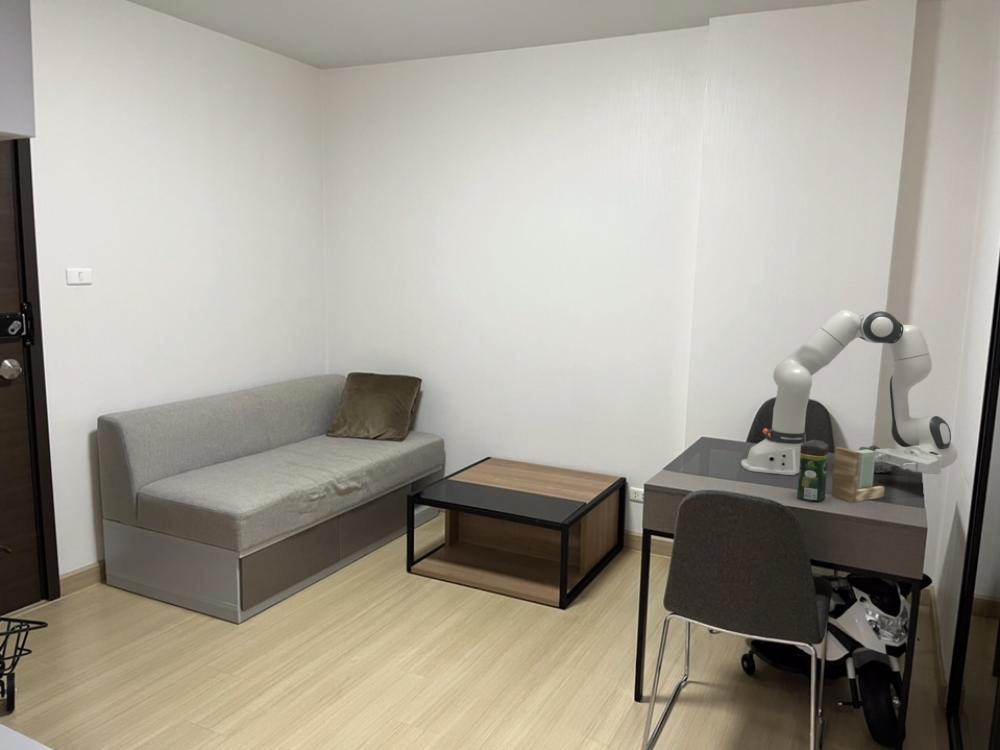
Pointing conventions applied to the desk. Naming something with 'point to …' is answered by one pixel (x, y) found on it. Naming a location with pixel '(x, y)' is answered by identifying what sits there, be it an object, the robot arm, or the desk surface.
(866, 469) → the mint green rectangular block
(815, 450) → the coffee jar
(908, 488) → the desk surface
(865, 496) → the track
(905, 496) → the desk surface
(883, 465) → the mineral rock
